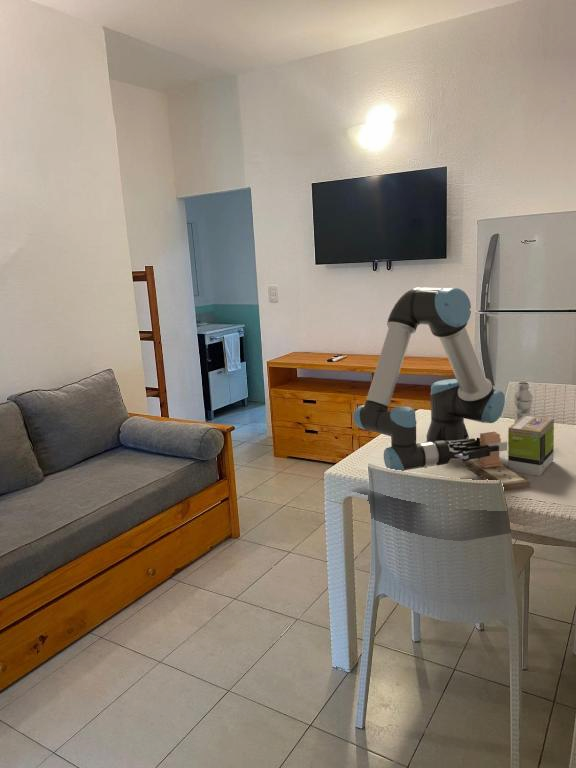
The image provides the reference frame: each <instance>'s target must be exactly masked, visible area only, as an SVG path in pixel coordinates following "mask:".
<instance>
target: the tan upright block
mask: <svg viewBox="0 0 576 768" xmlns="http://www.w3.org/2000/svg"><path fill="white" fill-rule="evenodd" d="M500 436H501V434H500V433H498V432H496V431H487V432H480V433H479V438H480V446H485V445H487V444H490V443H498V442H500V438H501V437H500ZM477 463H478V464H480V465H481V466H483V467H484V468H487V467H494V466H501V465H502V464H503V463H502V462H501V461H500V451H498V452H491V453H490V456H487V457H482V458H480V460H478V461H477Z"/></svg>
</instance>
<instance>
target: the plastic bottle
mask: <svg viewBox="0 0 576 768" xmlns="http://www.w3.org/2000/svg"><path fill="white" fill-rule="evenodd" d="M517 389H518V390H517V391H516V392H515V393H514V395H513V402H514V422H513V424H514V423H515V422H517V421H518V420H519V419H520V418H521V417H523V416H531V411H532V404H533V395H532V393H531V392H530V390H529V389H530V383H529V382H525V381H521V382H518V385H517Z"/></svg>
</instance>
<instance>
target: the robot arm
mask: <svg viewBox="0 0 576 768" xmlns="http://www.w3.org/2000/svg"><path fill="white" fill-rule="evenodd" d="M471 308H472V304H471V300H470V298H469V296H468V295H467V293H466V292H465V291H464V290H462V289H460V288H457V287H452V286H451V287H450V286H443V287H424V286H423V287H422V286H421V287H420V286H417V287H414V288H411V289H409V290H408V291H406V292H405V293H404V294H402V295H401V296H400V298H399V299H398V300H397V301H396V302H395V304H394V305H393V308H392V309H391V311H390V313H389V316H388V319H387V321H386V326H387V327H388V329H387V333H386V336H385V339H384V342H383V345H382V349H381V351H380V355H379V358H378V361H377V364H376V368H375V371H374V374H373V378H372V380H371V383H370V388H369V390H368V392H367V396H366V399H365V403H364V404H363V405H362V404H361V405H359V406H358V407H356V409H355V410H354V411H353V418H352V419H353V422H354V424H355V426H356V427H357V428H359V429H363V430H365V431H367V432H368V431H369V432H373V433H378V434H381V435H384V436H388V437H390V441H391V442H390V443H391V446H389V447H386V448H385V449H384V450H383V462H384V464H385V467H386V469H387V468H390V469H395V470H401V471H400V472H404V471H408V470H409V471H410V470H416V469H423V468H424V469H427V468H428V467H435V466H437V467H438V466H443V465H445V466H446V465H448V464H449V463H450V461H451V459H454V460H458V459H461V462H462V461H468V460H471V459H476V458H482V457H487V456H490V453H491V452H498V451H499V452H504V451H508V441H506V440H505V441H502V439H501V437H500V442H498V443H490V444H487V445H485V446H480V437H476V438H473V437H472V438H470V436H469V432H468V430H467V426H466V424H465V420H469V421H474V422H479V423H482V424H485V423H486V424H494V423H496V422H497V421H498V420H499V418H500V417H501V416H502V413H503V411H504V408H505V404H506V397H505V394H504V392H503V391H501V390H500V389H495V388H494V386H493V384H492V381H491V380H490V379H489V378H486V377H485V376H484V373H483V369H482V368H481V365H480V363H479V360H478V357H477V354H476V352H475V351H476V350H475V349H474V346H473V344H472V341H471V339H470V336H469V334H468V331H467V330H468V329H467V328H466V327H467V325H468V324H469V320H470V318H471V314H472V311H471ZM419 325H427V326H428V327H429V330H430V332H431V333H432V336H434V337H436V338H439V340H440V342H441V346H442V348H443V349H444V352H445V355H446V357H447V360H448V362H449V365H450V366H451V369H452V371H453V374H454V376H455V378H451V379H441V380H438V381H435V382H433V383H432V384H431V386H430V394H429V395H430V416H431V417H430V424H429V427H428V429H427V433H426V442H419V443H417V425H418V424H417V418H416V411H415V409H414V408H412V407H410V406H395V407H392V408H391V409H390V410H389V406H390V404H391V402H392V401H391V400H392V397H393V394H394V391H395V388H396V384H397V381H398V378H399V375H400V372H401V368H402V365H403V362H404V358H405V355H406V352H407V349H408V346H409V343H410V339H411V337H412V335H413V334H415V333H416V331H417V328H418V326H419Z"/></svg>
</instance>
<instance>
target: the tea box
mask: <svg viewBox="0 0 576 768" xmlns="http://www.w3.org/2000/svg"><path fill="white" fill-rule="evenodd" d="M507 431H508V434H507V437H508V438H507V439H508V441H507V451H508V452H507V453H508V456H507V457H508V458H507V459H508V461H507V462H508V464H507V465H508V466H507V467H508V468H510V469H512V470H513V471H515V472H516V473H521V474H524V475H525V474H526V475H532V476H538V477H540V476H541V475H542V474H543V473H544V472H545V470H546V469H547V468H548V467H549V466H550V465H551V464H552V463H553V461H554V460H555V459H554V452H555V451H554V450H555V448H554V445H555V444H554V441H555V440H554V439H555V438H554V437H555V435H554V433H555V432H554V431H555V419H554V418H549V417H548V418H547V417H539V416H538V417H537V416H531V415H530V416H523V417H521V418H520V419H519V420H518V421H517V422H515V423H514V422H513V424H511V426H509V427H508V430H507Z"/></svg>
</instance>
